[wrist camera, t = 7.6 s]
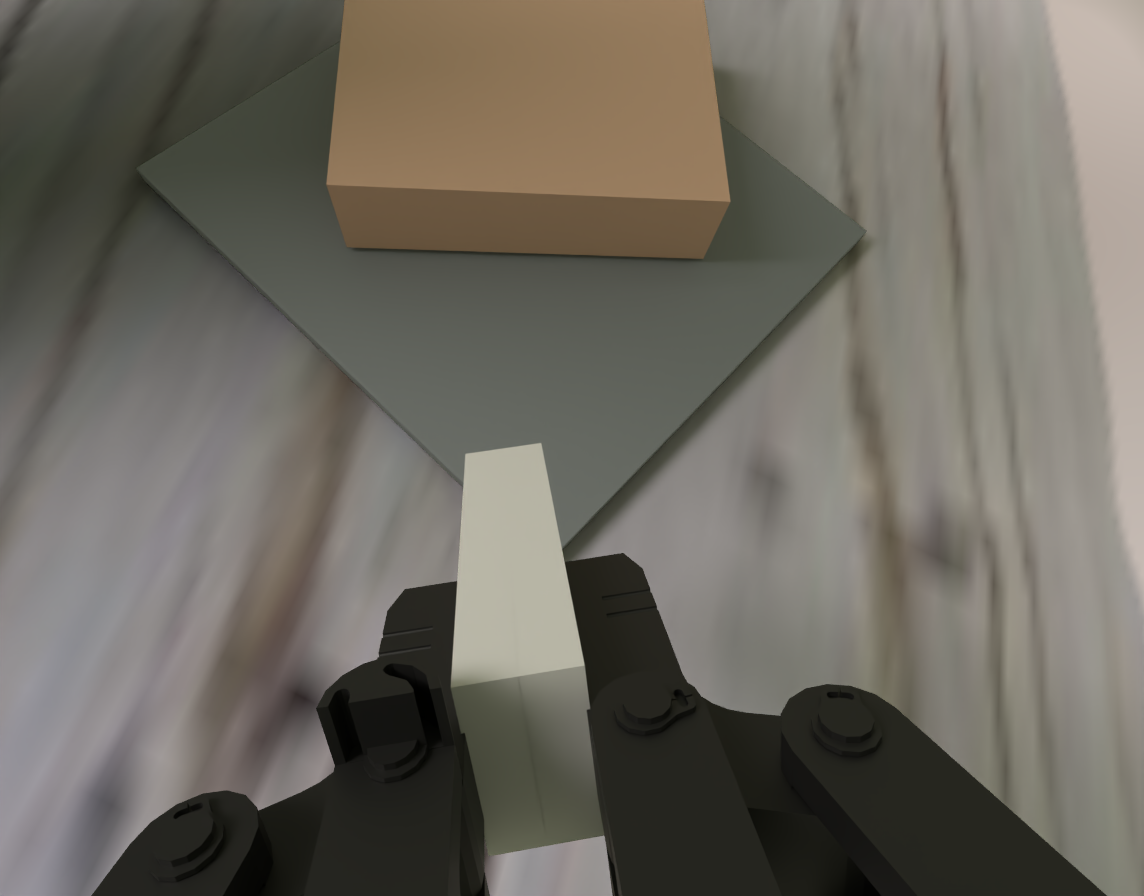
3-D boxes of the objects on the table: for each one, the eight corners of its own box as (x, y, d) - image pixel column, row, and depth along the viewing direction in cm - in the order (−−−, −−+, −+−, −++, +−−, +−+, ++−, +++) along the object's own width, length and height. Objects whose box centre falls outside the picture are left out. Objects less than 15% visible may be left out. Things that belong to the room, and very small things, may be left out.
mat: (144, 180, 24) (135, 168, 23) (498, -43, 29) (498, -58, 29) (545, 567, 21) (547, 563, 20) (858, 241, 26) (867, 231, 26)
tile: (730, 201, 22) (699, -33, 25) (326, 184, 20) (350, -61, 24) (701, 262, 25) (677, 46, 28) (348, 250, 23) (366, 25, 27)
